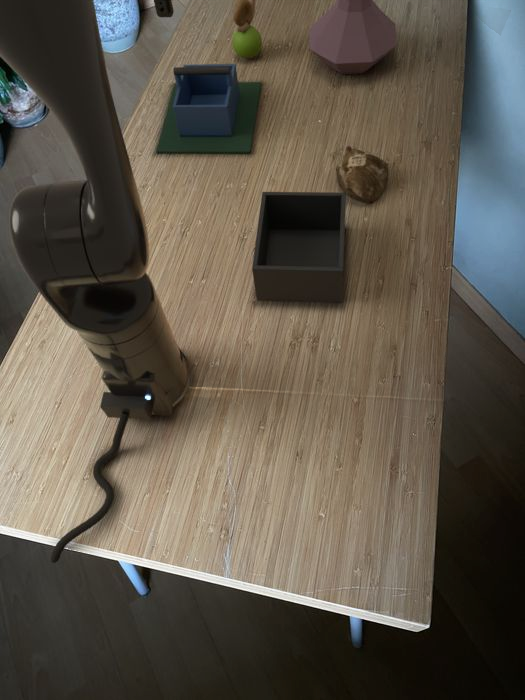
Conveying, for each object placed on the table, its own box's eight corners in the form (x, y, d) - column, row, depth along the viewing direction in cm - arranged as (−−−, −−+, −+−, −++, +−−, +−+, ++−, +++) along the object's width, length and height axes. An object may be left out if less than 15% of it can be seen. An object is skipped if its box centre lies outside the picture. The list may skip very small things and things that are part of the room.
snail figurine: (271, 48, 112) (266, -18, 101) (252, 67, 109) (245, 1, 99) (247, 41, 114) (240, -25, 103) (228, 59, 111) (219, -6, 101)
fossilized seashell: (340, 145, 93) (321, 196, 90) (362, 123, 87) (342, 177, 84) (379, 168, 95) (362, 220, 92) (403, 148, 89) (385, 203, 86)
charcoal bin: (341, 305, 81) (343, 271, 74) (257, 302, 82) (251, 268, 76) (344, 229, 88) (346, 192, 81) (266, 228, 89) (262, 191, 82)
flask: (326, 25, 114) (327, -94, 97) (409, 41, 109) (425, -82, 92) (292, 77, 107) (286, -42, 90) (379, 95, 102) (391, -26, 85)
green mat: (250, 153, 98) (250, 151, 97) (156, 153, 99) (155, 151, 99) (261, 84, 107) (260, 81, 106) (174, 85, 108) (174, 83, 108)
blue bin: (233, 137, 99) (226, 89, 91) (178, 137, 100) (166, 89, 93) (241, 94, 105) (234, 46, 97) (188, 95, 106) (178, 47, 98)
